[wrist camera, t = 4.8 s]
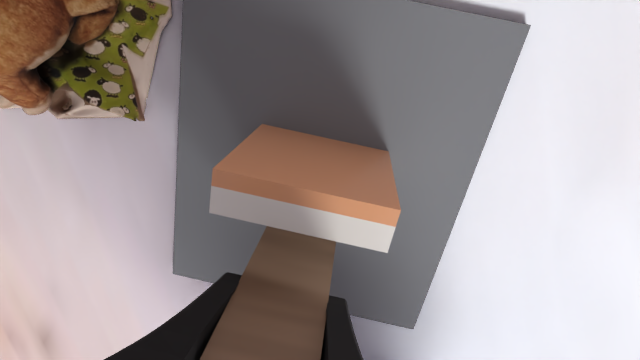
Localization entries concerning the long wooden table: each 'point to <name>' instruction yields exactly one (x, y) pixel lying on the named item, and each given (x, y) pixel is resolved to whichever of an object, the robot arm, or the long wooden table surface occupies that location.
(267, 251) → the tan wooden brick
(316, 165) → the tile
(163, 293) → the long wooden table surface
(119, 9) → the bear figurine
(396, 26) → the mat
